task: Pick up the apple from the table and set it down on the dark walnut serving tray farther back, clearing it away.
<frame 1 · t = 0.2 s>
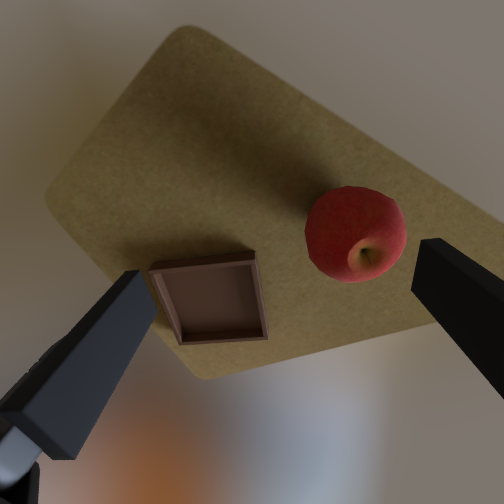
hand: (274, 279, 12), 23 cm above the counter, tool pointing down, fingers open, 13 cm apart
apple: (334, 211, 33), on the counter
tray: (215, 297, 42), on the counter
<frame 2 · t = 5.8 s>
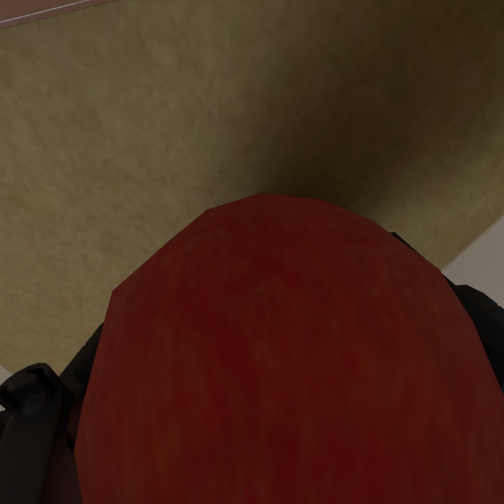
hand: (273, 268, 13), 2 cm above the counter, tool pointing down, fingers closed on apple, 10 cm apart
apple: (272, 248, 14), on the counter, touching gripper
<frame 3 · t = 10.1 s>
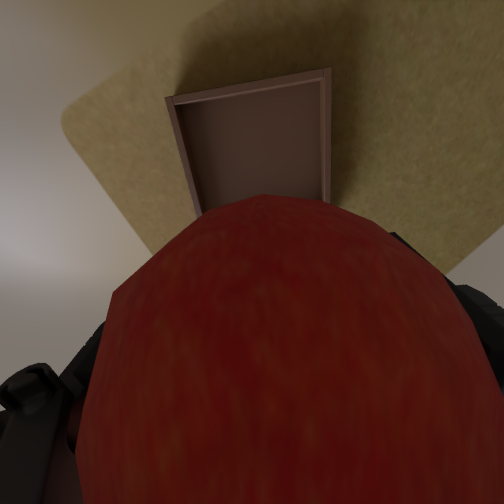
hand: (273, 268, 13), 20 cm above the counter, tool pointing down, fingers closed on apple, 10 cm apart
apple: (272, 248, 15), point 18 cm above the counter, touching gripper
tray: (257, 166, 29), on the counter
when the fingers open (3 cm above the counter, at t = 14.8 s): apple stays where it is, resting on tray.
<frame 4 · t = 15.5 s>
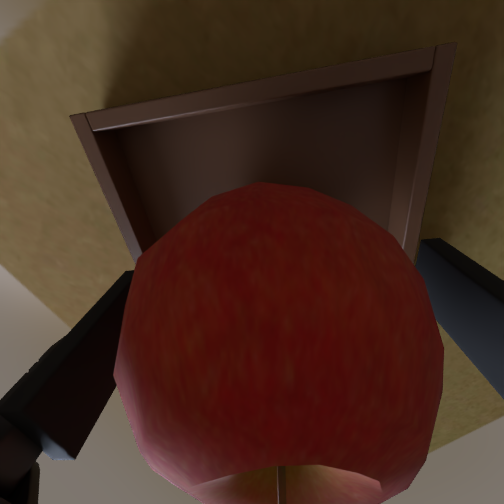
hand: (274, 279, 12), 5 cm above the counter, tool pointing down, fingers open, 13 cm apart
apple: (268, 236, 16), resting on tray
tray: (268, 234, 16), on the counter
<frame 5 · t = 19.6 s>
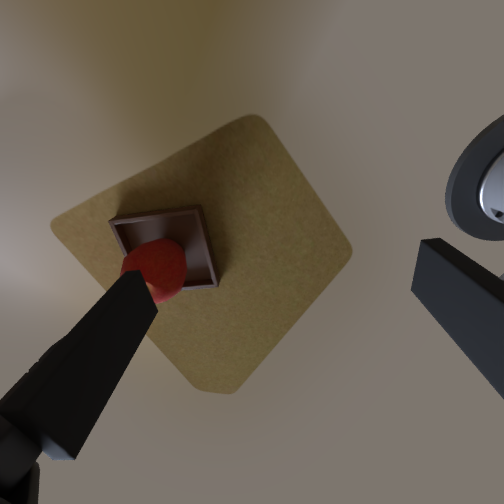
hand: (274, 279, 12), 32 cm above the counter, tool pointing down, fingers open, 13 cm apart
apple: (170, 250, 48), resting on tray
tray: (171, 250, 48), on the counter
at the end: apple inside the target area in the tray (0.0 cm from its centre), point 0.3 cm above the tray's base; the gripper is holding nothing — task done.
